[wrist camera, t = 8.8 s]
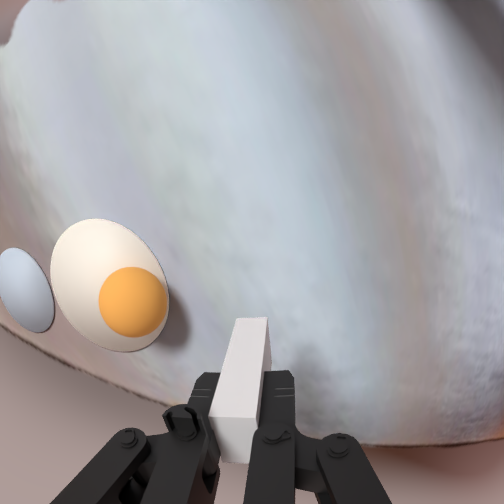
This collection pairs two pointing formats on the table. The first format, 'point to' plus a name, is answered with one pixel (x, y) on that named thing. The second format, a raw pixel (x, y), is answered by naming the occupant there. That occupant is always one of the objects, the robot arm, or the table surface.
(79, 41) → the table surface
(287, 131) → the table surface
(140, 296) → the ball
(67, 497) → the robot arm
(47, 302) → the pale blue disc
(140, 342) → the disc
